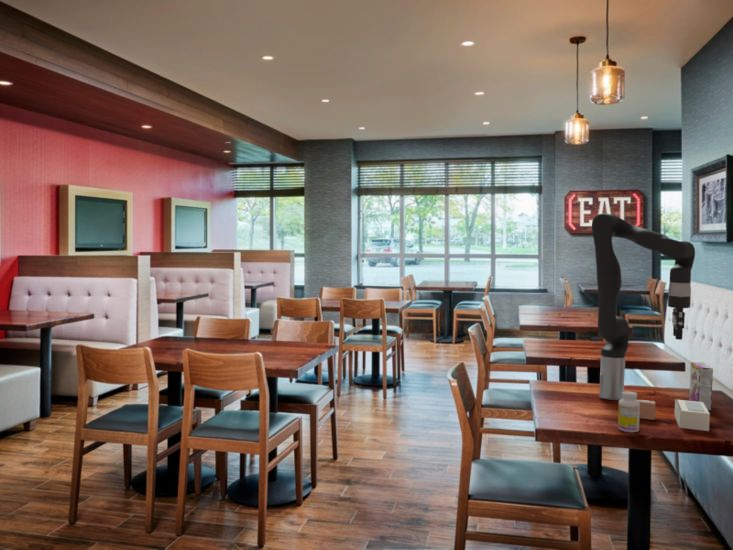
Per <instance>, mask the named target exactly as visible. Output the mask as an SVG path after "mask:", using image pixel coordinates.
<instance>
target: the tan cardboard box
mask: <svg viewBox="0 0 733 550" xmlns="http://www.w3.org/2000/svg"><path fill="white" fill-rule="evenodd" d="M636 400H637V401H639V403H640V416H639V419H643V420H652V421H655V420H656V401H654V400H646V399H645V400H644V399H637V398H636Z"/></svg>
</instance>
